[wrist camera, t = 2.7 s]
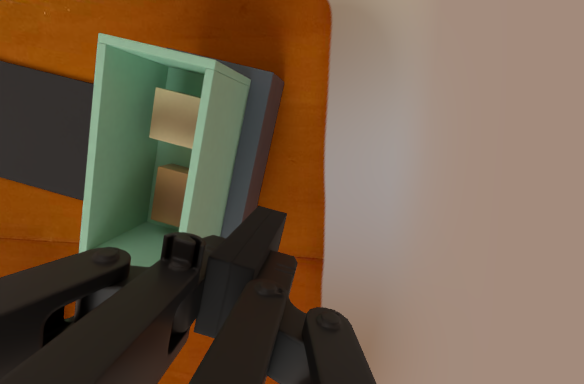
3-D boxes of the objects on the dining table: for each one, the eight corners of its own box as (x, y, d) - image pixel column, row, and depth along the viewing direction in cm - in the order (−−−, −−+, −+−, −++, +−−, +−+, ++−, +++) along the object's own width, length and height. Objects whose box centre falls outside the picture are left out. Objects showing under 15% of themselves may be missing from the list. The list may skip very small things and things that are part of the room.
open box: (166, 59, 29) (98, 32, 20) (251, 79, 28) (215, 59, 20) (144, 223, 32) (78, 257, 24) (218, 245, 32) (177, 286, 23)
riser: (195, 60, 34) (166, 47, 28) (284, 82, 33) (273, 72, 28) (170, 216, 38) (141, 232, 33) (249, 238, 38) (233, 259, 32)
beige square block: (180, 92, 28) (155, 86, 25) (222, 102, 28) (204, 98, 24) (173, 136, 29) (148, 137, 26) (214, 146, 29) (195, 149, 25)
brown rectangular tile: (171, 163, 30) (157, 166, 28) (207, 172, 30) (196, 176, 27) (164, 212, 31) (150, 219, 29) (198, 222, 31) (187, 230, 28)
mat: (-74, 42, 38) (-78, 41, 38) (166, 102, 36) (165, 102, 35) (-72, 155, 41) (-74, 156, 41) (150, 218, 39) (149, 219, 38)
